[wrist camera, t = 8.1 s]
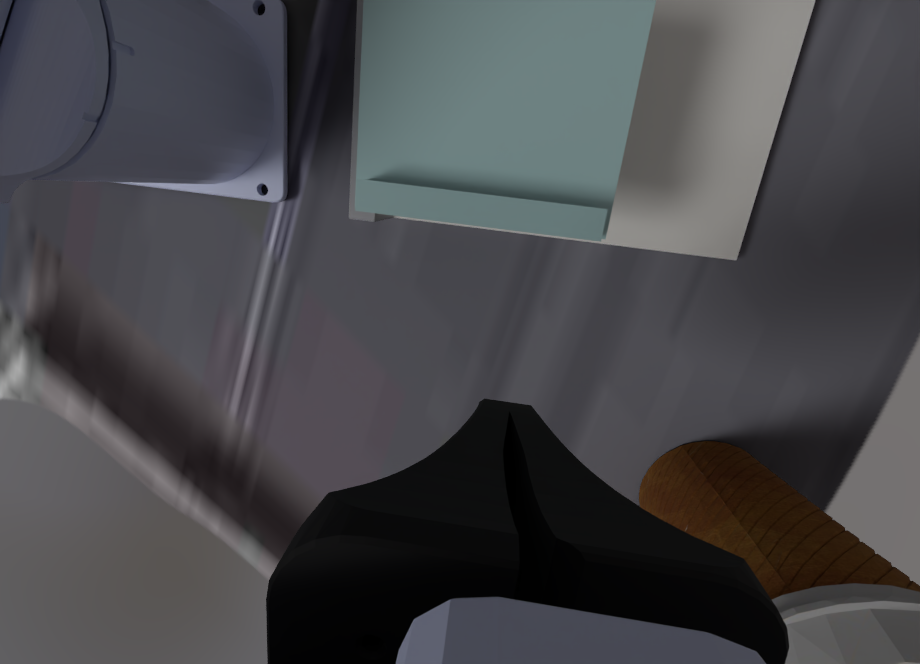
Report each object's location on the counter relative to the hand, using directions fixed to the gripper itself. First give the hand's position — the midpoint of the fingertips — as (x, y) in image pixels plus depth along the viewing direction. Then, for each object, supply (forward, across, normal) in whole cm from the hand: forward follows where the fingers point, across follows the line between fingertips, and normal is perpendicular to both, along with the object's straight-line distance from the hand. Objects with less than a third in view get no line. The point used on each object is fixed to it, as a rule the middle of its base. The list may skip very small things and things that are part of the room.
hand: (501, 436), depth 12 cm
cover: (+6, +2, -8) cm, 11 cm away
